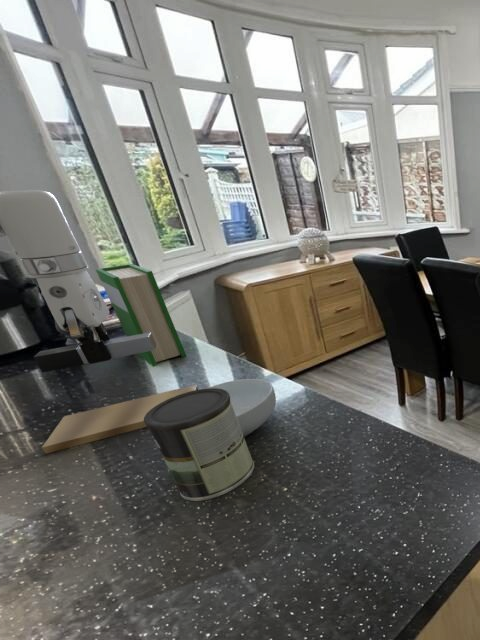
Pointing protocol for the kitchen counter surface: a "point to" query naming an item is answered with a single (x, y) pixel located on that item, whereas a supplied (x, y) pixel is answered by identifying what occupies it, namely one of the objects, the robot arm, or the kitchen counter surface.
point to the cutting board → (105, 421)
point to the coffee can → (201, 443)
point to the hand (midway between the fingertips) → (102, 357)
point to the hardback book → (141, 309)
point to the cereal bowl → (250, 402)
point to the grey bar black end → (75, 357)
